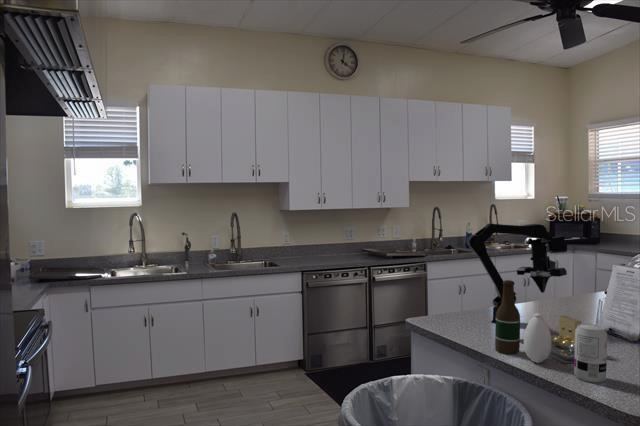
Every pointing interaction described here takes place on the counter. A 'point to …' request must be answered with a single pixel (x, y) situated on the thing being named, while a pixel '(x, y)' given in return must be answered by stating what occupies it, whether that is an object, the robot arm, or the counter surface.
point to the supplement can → (590, 353)
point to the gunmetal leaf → (565, 352)
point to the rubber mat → (553, 347)
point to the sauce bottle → (537, 338)
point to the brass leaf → (565, 331)
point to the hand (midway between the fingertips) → (542, 292)
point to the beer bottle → (507, 322)
